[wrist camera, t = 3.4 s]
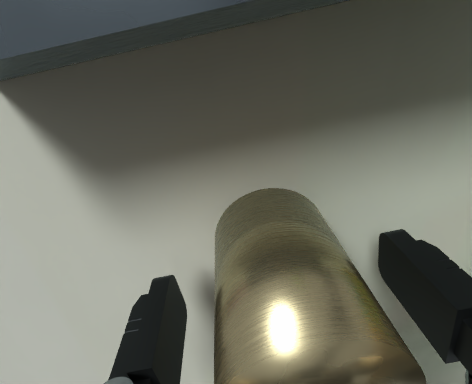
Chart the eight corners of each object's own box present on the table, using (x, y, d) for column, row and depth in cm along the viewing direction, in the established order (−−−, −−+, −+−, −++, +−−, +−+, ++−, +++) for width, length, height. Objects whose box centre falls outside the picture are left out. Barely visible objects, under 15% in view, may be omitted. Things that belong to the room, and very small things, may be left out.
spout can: (319, 177, 12) (439, 320, 5) (328, 291, 15) (411, 469, 8) (202, 201, 12) (187, 368, 6) (234, 310, 15) (248, 497, 9)
